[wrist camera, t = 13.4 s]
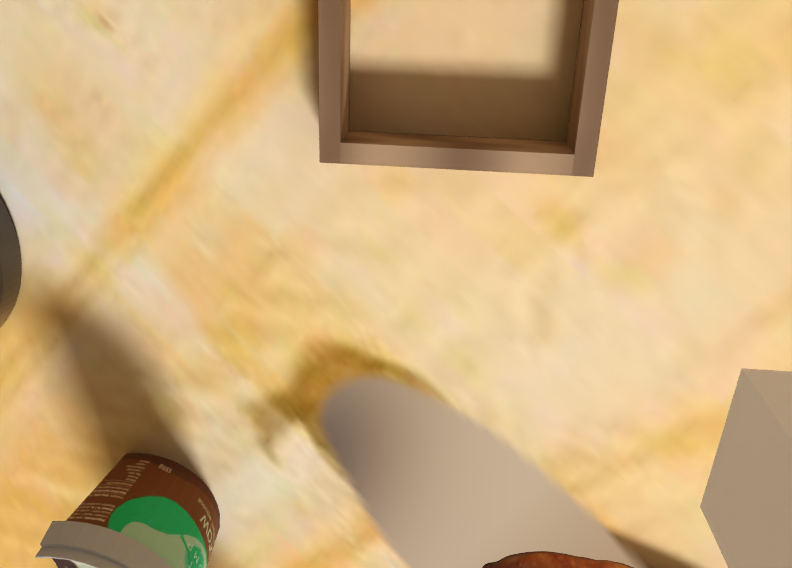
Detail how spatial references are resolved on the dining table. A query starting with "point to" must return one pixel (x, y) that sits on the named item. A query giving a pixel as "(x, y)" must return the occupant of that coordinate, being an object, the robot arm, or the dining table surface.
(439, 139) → the holder
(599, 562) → the bread slice
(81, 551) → the food container
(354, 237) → the dining table surface
